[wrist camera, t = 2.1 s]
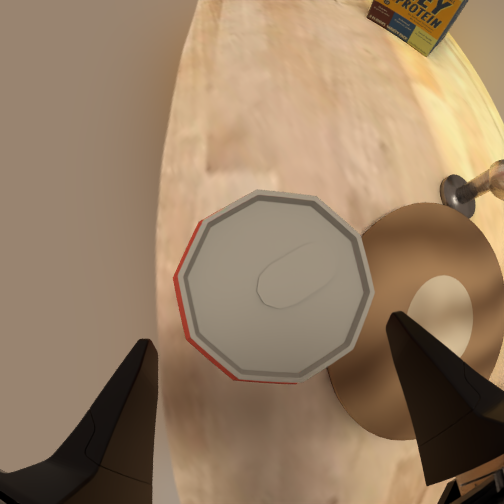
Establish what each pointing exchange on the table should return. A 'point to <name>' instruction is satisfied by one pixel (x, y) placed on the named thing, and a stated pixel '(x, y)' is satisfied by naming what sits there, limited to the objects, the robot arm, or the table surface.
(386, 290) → the lazy susan
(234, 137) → the table surface
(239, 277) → the beverage can
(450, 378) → the robot arm
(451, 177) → the metal door stop
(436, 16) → the protein box
